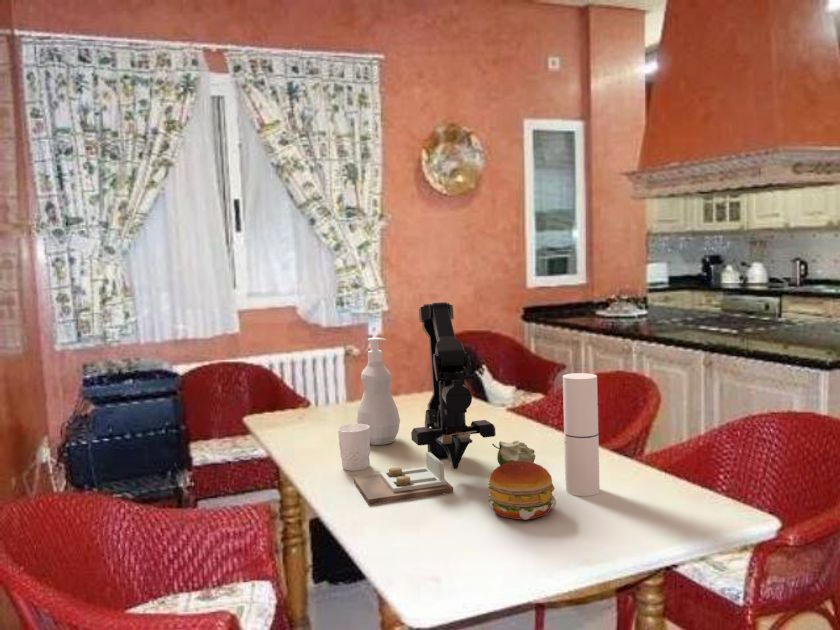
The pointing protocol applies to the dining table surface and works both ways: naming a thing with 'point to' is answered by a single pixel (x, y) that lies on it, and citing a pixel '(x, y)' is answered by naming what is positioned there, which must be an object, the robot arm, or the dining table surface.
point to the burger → (521, 490)
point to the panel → (419, 475)
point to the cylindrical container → (581, 434)
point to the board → (380, 492)
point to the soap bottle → (378, 399)
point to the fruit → (514, 452)
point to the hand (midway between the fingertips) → (454, 468)
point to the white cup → (354, 446)
